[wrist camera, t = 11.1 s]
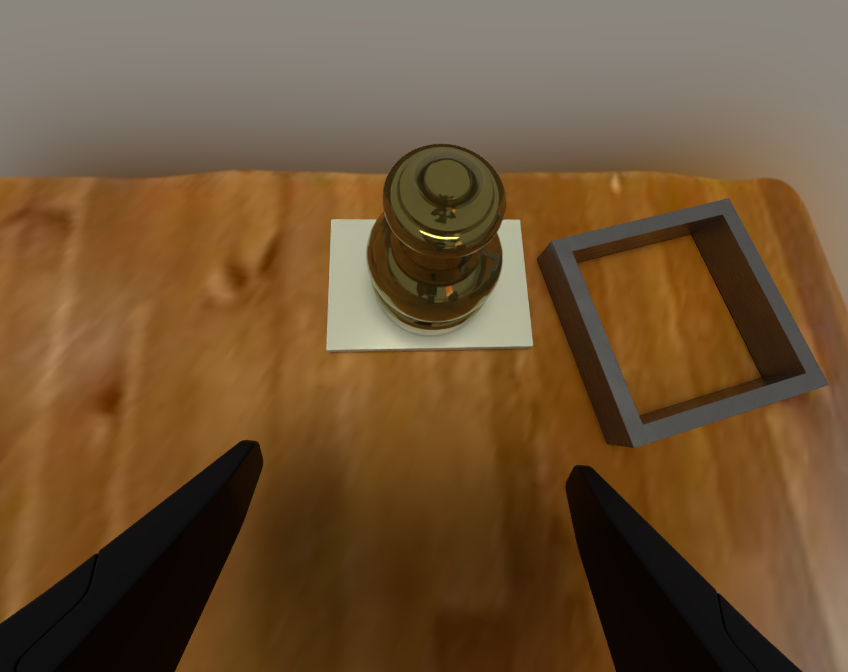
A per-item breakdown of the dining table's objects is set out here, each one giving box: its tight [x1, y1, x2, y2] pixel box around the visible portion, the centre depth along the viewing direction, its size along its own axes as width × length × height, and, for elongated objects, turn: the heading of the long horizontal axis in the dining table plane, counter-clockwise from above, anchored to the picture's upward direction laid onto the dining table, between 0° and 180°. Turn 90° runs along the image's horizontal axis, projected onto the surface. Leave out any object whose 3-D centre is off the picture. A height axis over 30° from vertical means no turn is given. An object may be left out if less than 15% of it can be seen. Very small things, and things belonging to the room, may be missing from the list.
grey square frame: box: [537, 198, 829, 448], centre depth 22 cm, size 13×13×2 cm
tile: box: [326, 220, 533, 352], centre depth 22 cm, size 13×9×1 cm
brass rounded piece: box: [366, 144, 506, 336], centre depth 17 cm, size 7×7×10 cm
